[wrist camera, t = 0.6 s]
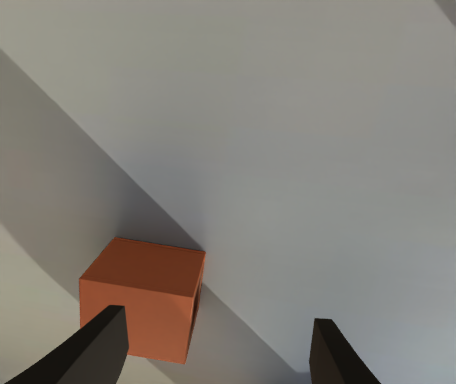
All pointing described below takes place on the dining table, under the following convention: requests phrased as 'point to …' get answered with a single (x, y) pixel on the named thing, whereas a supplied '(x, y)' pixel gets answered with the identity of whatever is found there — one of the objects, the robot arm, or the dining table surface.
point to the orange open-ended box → (147, 294)
